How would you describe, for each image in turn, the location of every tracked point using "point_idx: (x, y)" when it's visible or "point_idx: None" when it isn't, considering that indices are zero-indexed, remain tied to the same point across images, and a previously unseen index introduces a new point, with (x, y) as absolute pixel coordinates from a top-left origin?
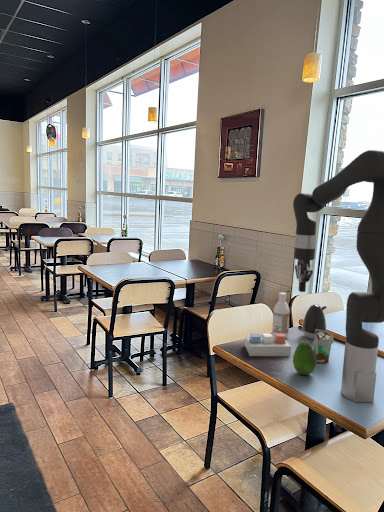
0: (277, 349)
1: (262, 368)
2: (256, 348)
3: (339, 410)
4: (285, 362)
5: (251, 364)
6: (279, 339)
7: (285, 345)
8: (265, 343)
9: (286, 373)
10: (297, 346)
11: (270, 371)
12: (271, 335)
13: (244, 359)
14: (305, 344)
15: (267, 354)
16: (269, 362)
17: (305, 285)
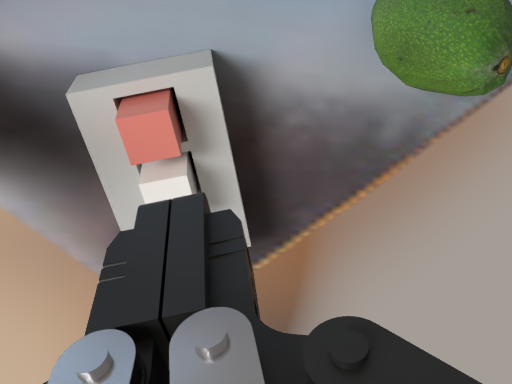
0: (226, 128)
1: (355, 175)
2: (245, 218)
3: None
4: (289, 81)
5: (323, 211)
6: (177, 134)
7: (205, 94)
8: (201, 189)
9: (398, 87)
10: (468, 95)
11: (380, 148)
12: (171, 183)
13: (281, 235)
14: (510, 61)
15: (233, 159)
16: (297, 148)
17: (204, 263)
